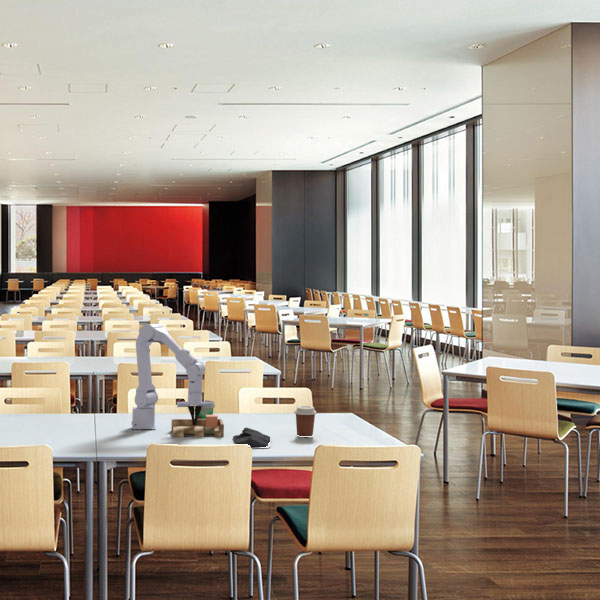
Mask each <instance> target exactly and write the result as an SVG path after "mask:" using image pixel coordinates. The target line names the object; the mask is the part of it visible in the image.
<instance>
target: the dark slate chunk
mask: <svg viewBox="0 0 600 600" xmlns="http://www.w3.org/2000/svg"><path fill="white" fill-rule="evenodd" d="M232 438H233V441H234V442H235V444H236V445H237V444H248V445H250V446H251V447H266V446H268V443H269V442H270V438H271V437H270V436H269V435H267V434H265V433H262V432H260V431H258V430H256V429H253V428H249V427H243V429H242V430H241V432H240V433H239V434H236V435H233V436H232ZM251 447H250V448H251Z"/></svg>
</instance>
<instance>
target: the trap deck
mask: <svg viewBox="0 0 600 600" xmlns="http://www.w3.org/2000/svg"><path fill="white" fill-rule="evenodd" d="M224 427H225V424H224V422H223V420H222V419H221V418H218V425H217V427H216V428H206V419H197V422H196V425H193V424H192V418H172V419H171V431H170V432H171V433H172V436H173V438H217V437H218V438H221V437H222V438H223V437H225V436H224V435H225V434H224V433H225V428H224Z"/></svg>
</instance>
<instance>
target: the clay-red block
mask: <svg viewBox="0 0 600 600" xmlns="http://www.w3.org/2000/svg"><path fill="white" fill-rule="evenodd" d="M218 419H219V417H218V415H217V414H213V415H206V428H216V427H217V425H218Z"/></svg>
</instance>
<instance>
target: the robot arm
mask: <svg viewBox="0 0 600 600" xmlns="http://www.w3.org/2000/svg"><path fill="white" fill-rule="evenodd" d="M154 341H158V342H162V343H163V344H164V345H165V346H166V347H167V348H168V349H169V350H171V352H172V353H174V355H175V356H174V358H175V359H176V361H177V362H179V364H180V365H181V366H182V367H183V368H184V370H185V373H186V375H187V376H188V380H187V381H188V384H187V385H188V387H187V389H188V390H187V391H188V392H187V401H177V402H176V408H187V409H188V411H189V413H190V416H191V419H192V424H193V425H196V422H197V419H198V416H199V413H200V411H201V407H213V402H214V401H213V402H205V401H203V378H204V377H203V375H204V373H205V371H206V366H205V365H204V363H203V362H201V361H198V359H197V358H195V357H194V356H193V355H192V354H191V351H190V350H189V349H186V348H182V347H181V346H180V345H179V344H178V343H177V341H176V340H175V339H174V338H173V337H172V336H171V335H170V333H169V332H168V330H167V329H166V328H165V327H164V326H163V325H162V324H161V323H158V322H155V323H146V324H143V325H142V326H141V327H139V329H138V335H137V339H136V341H135V351H136V352H135V353H136V365H137V376H138V377H137V378H138V386H137V388H136V389H135V396H134V404H135V405H136V407H132V418H131V419H132V420H131V428H132V429H152V430H156V423H155V421H156V417H155V416H156V403H157V402H158V400H159V395H158V393H157V391H156V386H155V385H154V384H153V381H152V380H153V379H152V378H153V377H152V365H151V355H150V354H151V353H150V346H151V345H152V344H153V343H154ZM197 405H200V406H197ZM132 429H131V430H132Z"/></svg>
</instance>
